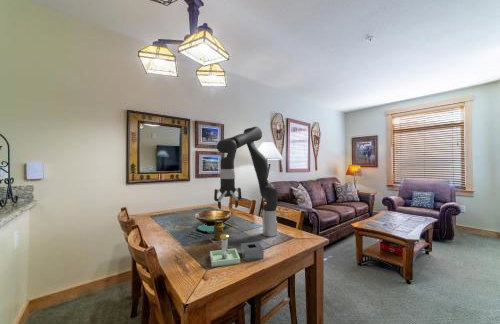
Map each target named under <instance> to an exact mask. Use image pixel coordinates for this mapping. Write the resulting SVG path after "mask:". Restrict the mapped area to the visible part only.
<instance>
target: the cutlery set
mask: <svg viewBox="0 0 500 324" xmlns="http://www.w3.org/2000/svg"><path fill="white" fill-rule="evenodd" d="M205 224H206V223H203V224H200V225H198V226H197V228H196V230H198V231H200V232H198V231H193V230H192V231H189V232H187V233H184V236H186V237H191V238H192V239H196V240H199V237H200V238H202V237H203V236H205V237H206V236H207V235H206V234H203V233H202V232H204V233H208V234H214V226H207V225H205ZM225 227H226V225H225V224H224V223H223V229H224V228H225ZM195 233H196V234H195ZM197 236H198V237H197Z"/></svg>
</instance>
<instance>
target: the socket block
mask: <svg viewBox="0 0 500 324" xmlns="http://www.w3.org/2000/svg"><path fill="white" fill-rule="evenodd" d="M264 251H265V250H264V247H263V246H262V245H261V244H260V242H259V241H252V242H243V243H240V253H241V256H242V257H243V260H244V261H245V262H247V261H253V260H254V261H255V260H261V259H264V254H265V253H264Z"/></svg>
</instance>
